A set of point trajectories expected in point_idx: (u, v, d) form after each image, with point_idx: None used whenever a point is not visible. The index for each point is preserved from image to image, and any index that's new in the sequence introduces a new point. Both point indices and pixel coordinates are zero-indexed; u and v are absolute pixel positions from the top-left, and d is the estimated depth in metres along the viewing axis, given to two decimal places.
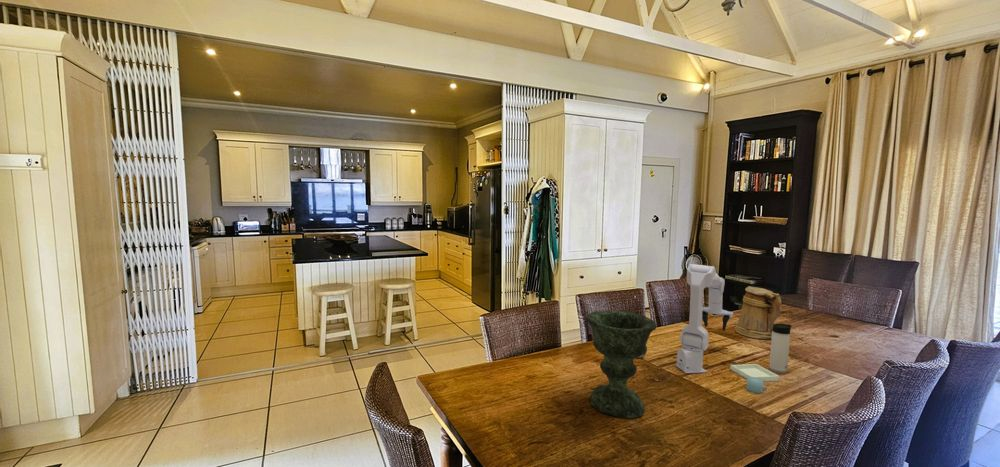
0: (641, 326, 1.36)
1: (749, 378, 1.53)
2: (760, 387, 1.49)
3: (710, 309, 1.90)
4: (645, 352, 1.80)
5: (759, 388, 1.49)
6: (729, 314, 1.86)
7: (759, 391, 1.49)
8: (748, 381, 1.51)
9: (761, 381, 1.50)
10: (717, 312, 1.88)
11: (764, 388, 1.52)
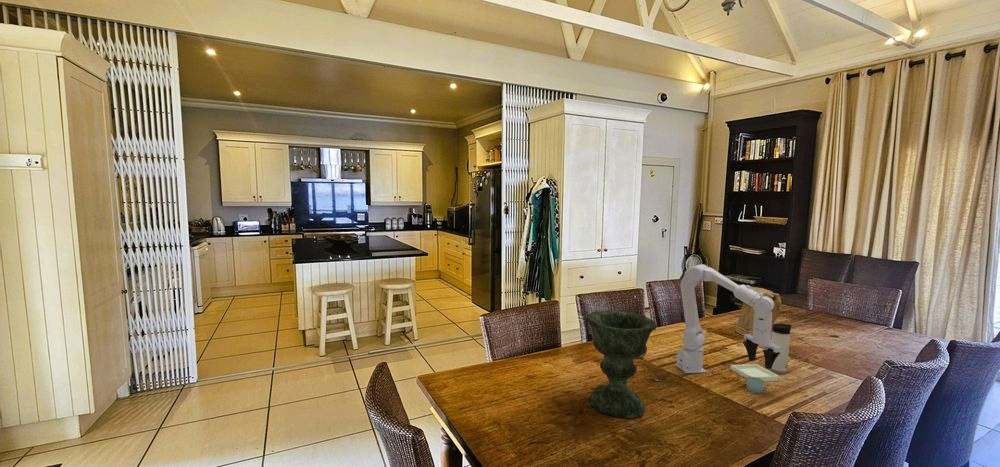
0: (641, 326, 1.36)
1: (749, 378, 1.53)
2: (760, 387, 1.49)
3: (753, 337, 1.53)
4: (645, 352, 1.80)
5: (759, 388, 1.49)
6: (773, 347, 1.46)
7: (759, 391, 1.49)
8: (748, 381, 1.51)
9: (761, 381, 1.50)
10: (759, 342, 1.50)
11: (764, 388, 1.52)
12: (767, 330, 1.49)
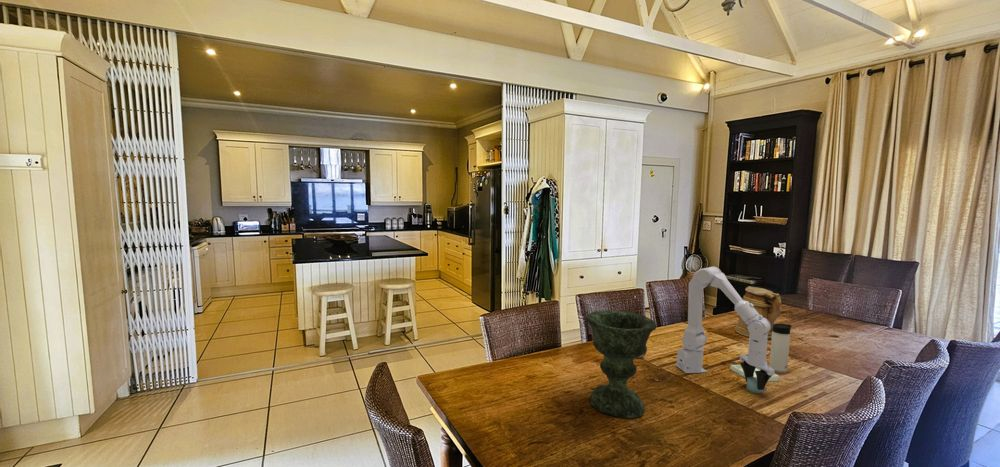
0: (641, 326, 1.36)
1: (749, 378, 1.53)
2: None
3: (748, 358, 1.52)
4: (645, 352, 1.80)
5: None
6: (767, 370, 1.45)
7: (759, 391, 1.49)
8: (748, 381, 1.51)
9: None
10: (753, 363, 1.49)
11: (764, 388, 1.52)
12: (761, 352, 1.48)
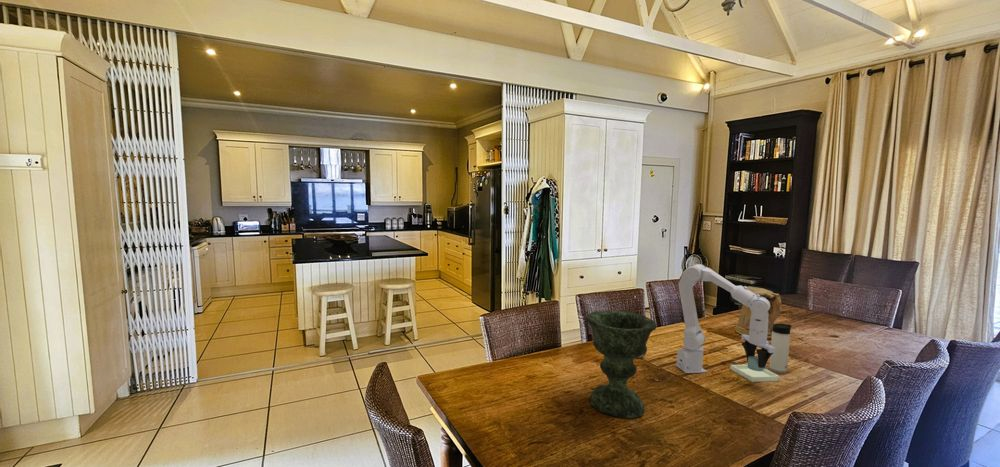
0: (641, 326, 1.36)
1: (750, 357, 1.55)
2: None
3: (749, 337, 1.55)
4: (645, 352, 1.80)
5: None
6: (767, 348, 1.48)
7: (760, 369, 1.52)
8: (749, 360, 1.54)
9: None
10: (754, 342, 1.52)
11: (765, 367, 1.54)
12: (764, 331, 1.51)
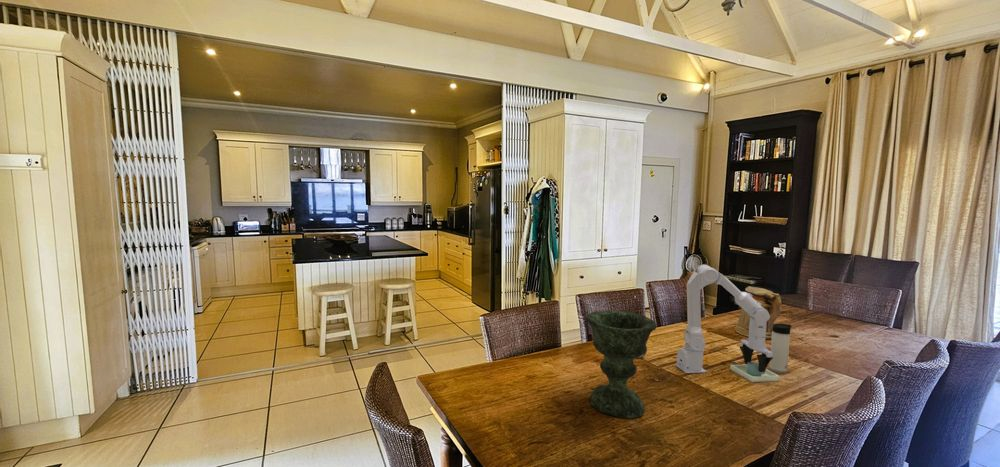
0: (641, 326, 1.36)
1: (749, 363, 1.66)
2: None
3: (748, 342, 1.65)
4: (645, 352, 1.80)
5: (758, 372, 1.62)
6: (765, 352, 1.58)
7: (758, 375, 1.63)
8: (748, 366, 1.65)
9: None
10: (753, 347, 1.62)
11: (763, 372, 1.65)
12: (764, 336, 1.61)
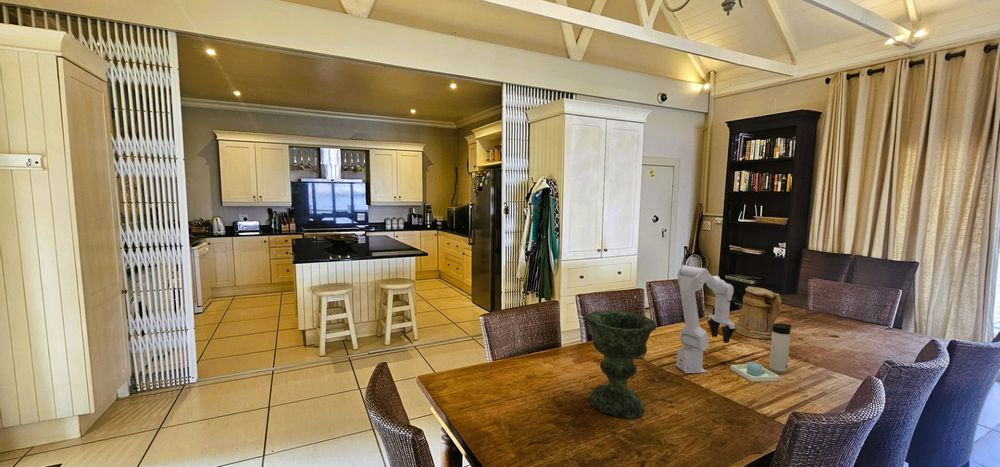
0: (641, 326, 1.36)
1: (749, 363, 1.66)
2: (759, 371, 1.62)
3: (714, 316, 1.80)
4: (645, 352, 1.80)
5: (758, 372, 1.62)
6: (729, 324, 1.73)
7: (758, 375, 1.63)
8: (748, 366, 1.65)
9: (760, 365, 1.63)
10: (718, 320, 1.77)
11: (763, 372, 1.65)
12: None
